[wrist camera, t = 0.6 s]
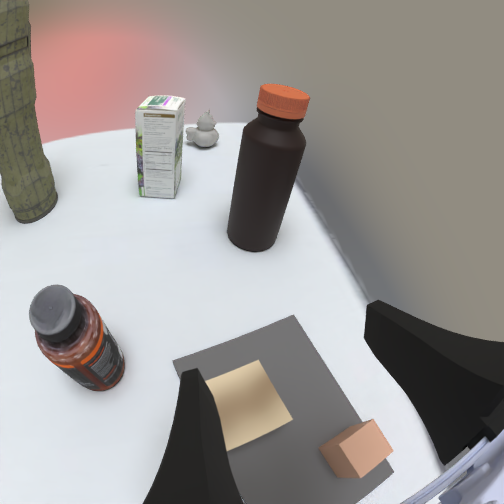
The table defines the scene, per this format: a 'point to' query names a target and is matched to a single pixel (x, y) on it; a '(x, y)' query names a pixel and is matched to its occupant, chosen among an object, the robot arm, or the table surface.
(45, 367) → the table surface
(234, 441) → the oak block
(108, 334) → the supplement bottle
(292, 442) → the mat
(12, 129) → the thermos
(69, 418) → the table surface
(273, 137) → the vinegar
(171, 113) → the syrup box
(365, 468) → the terracotta block
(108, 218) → the table surface
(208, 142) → the rubber duck
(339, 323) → the table surface
